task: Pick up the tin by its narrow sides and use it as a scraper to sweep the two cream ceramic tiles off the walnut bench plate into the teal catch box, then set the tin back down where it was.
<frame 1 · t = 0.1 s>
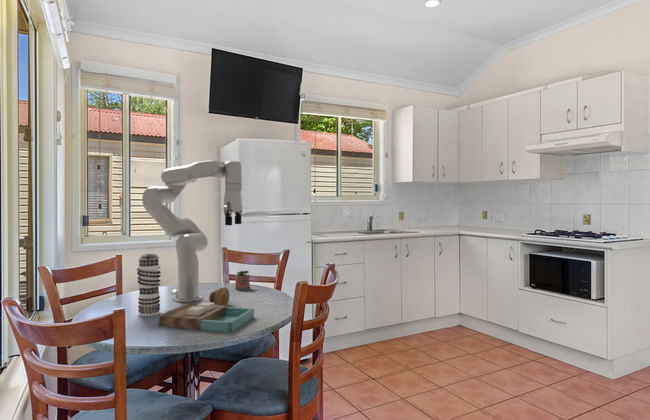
hand: (233, 224, 191), 37 cm above the table, tool pointing down, fingers open, 9 cm apart
tin: (219, 308, 183), on the table
cream tile 2: (205, 308, 166), point 4 cm above the table, touching bench plate
cream tile 1: (196, 313, 159), point 4 cm above the table, touching bench plate
bench plate: (194, 320, 164), on the table
decorative candle: (149, 313, 173), on the table
catch box: (228, 323, 160), on the table
lighter: (242, 289, 221), on the table
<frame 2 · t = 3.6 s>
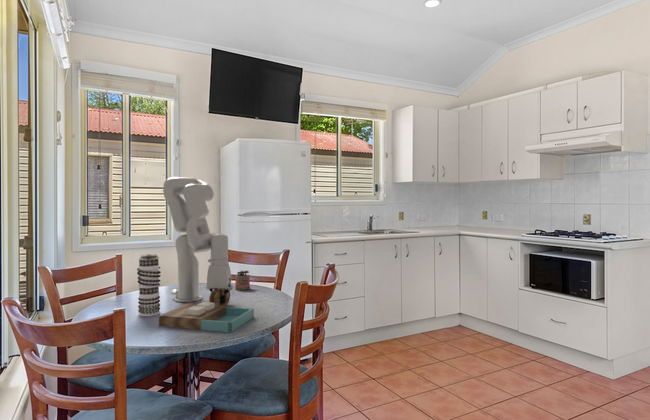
hand: (219, 303, 183), 2 cm above the table, tool pointing down, fingers closed on tin, 2 cm apart
tin: (219, 307, 183), on the table, touching gripper
everything else where it was.
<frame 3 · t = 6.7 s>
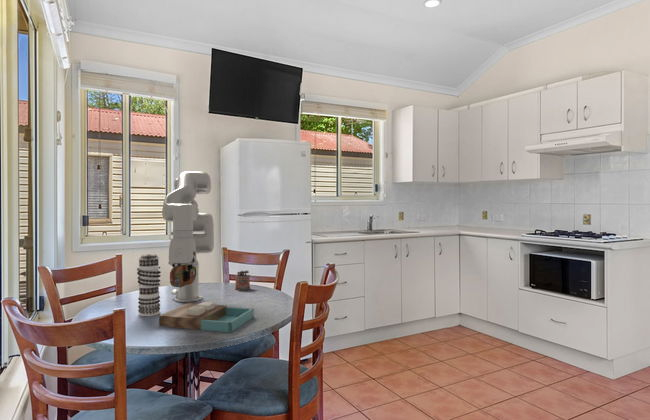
hand: (183, 280, 164), 16 cm above the table, tool pointing down, fingers closed on tin, 2 cm apart
tin: (182, 285, 164), point 14 cm above the table, touching gripper
everything else where it was.
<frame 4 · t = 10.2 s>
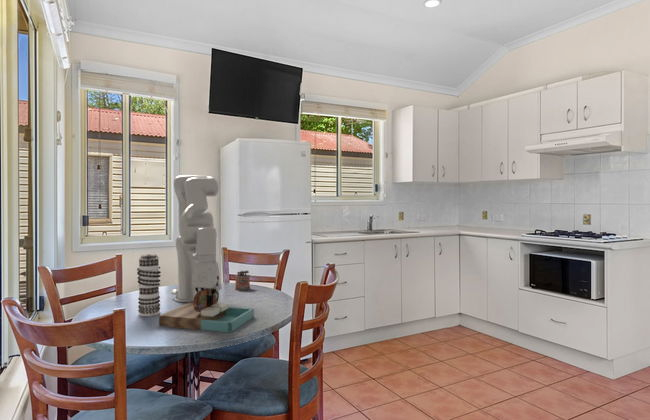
hand: (206, 304, 162), 7 cm above the table, tool pointing down, fingers closed on tin, 2 cm apart
tin: (205, 310, 162), point 4 cm above the table, touching gripper
cream tile 2: (219, 309, 165), point 4 cm above the table
cream tile 1: (210, 314, 158), point 4 cm above the table
everything else where it was.
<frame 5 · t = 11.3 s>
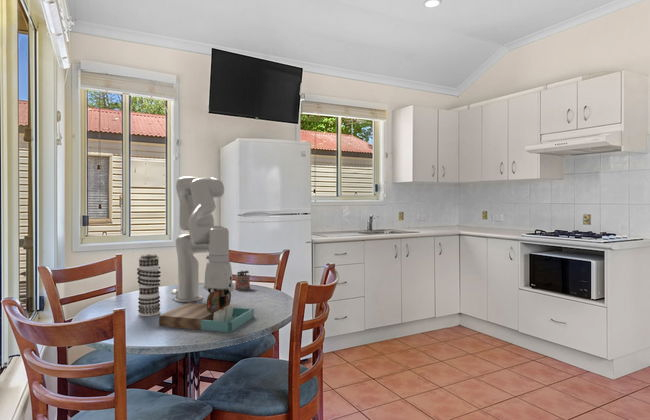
hand: (219, 305, 161), 7 cm above the table, tool pointing down, fingers closed on tin, 2 cm apart
tin: (218, 311, 161), point 4 cm above the table, touching gripper
cream tile 2: (225, 312, 164), point 3 cm above the table, tilted 100°, touching catch box
cream tile 1: (216, 317, 157), point 3 cm above the table, tilted 99°, touching catch box
everything else where it was.
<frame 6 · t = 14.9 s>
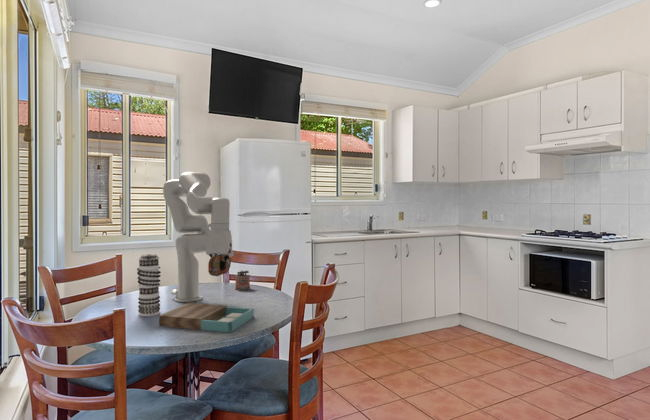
hand: (219, 269, 175), 18 cm above the table, tool pointing down, fingers closed on tin, 2 cm apart
tin: (218, 274, 175), point 16 cm above the table, touching gripper
cream tile 2: (234, 314, 163), point 2 cm above the table, tilted 180°, touching catch box
cream tile 1: (226, 319, 156), point 2 cm above the table, tilted 180°, touching catch box
everything else where it was.
when the fingers open (3 cm above the table, at t = 18.3 s): tin moves 1 cm, on the table.
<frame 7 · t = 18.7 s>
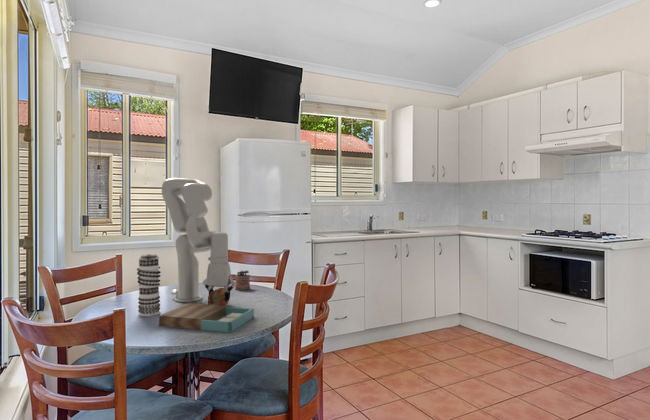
hand: (219, 299, 183), 4 cm above the table, tool pointing down, fingers open, 7 cm apart
tin: (218, 308, 183), on the table
everything else where it was.
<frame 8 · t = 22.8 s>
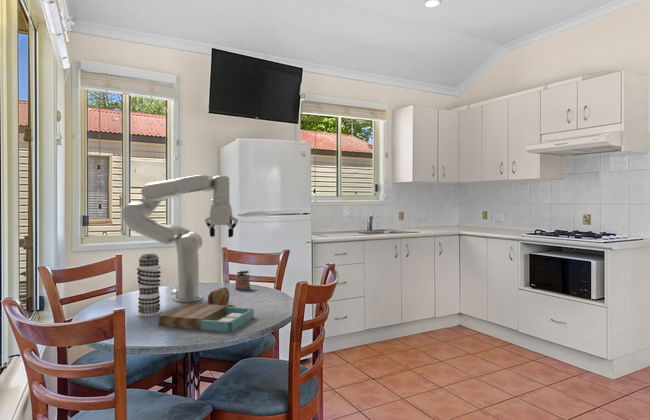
hand: (221, 236, 199), 30 cm above the table, tool pointing down, fingers open, 9 cm apart
nothing on the table moved.
at the end: cream tile 1 inside the target area (3.9 cm from its centre), point 2.4 cm above the table; cream tile 2 inside the target area (3.7 cm from its centre), point 2.4 cm above the table; the gripper is holding nothing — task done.
